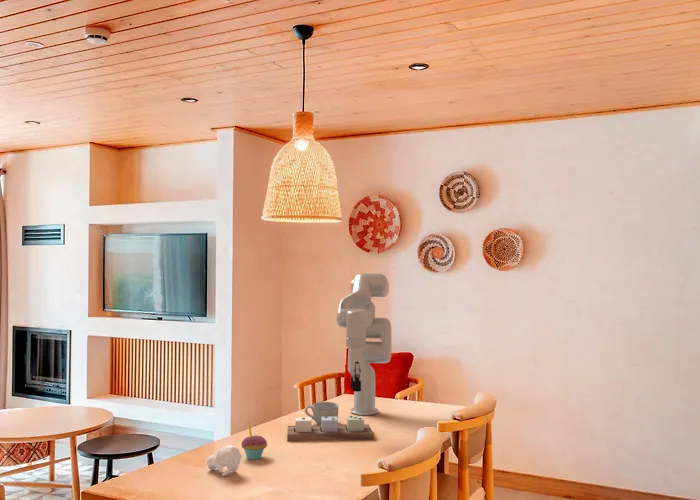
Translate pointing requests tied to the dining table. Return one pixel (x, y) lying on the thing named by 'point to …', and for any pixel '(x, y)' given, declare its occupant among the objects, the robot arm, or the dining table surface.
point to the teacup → (322, 410)
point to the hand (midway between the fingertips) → (355, 389)
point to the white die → (329, 424)
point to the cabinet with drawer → (329, 434)
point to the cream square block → (303, 424)
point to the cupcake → (254, 445)
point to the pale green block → (355, 423)
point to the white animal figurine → (225, 460)
